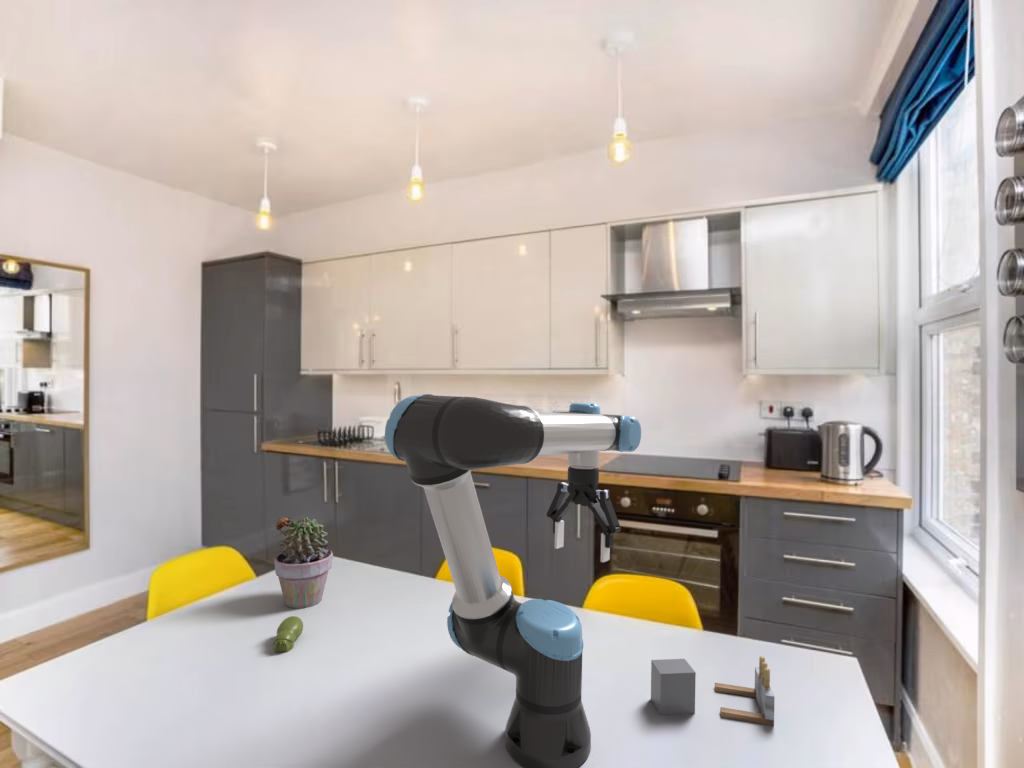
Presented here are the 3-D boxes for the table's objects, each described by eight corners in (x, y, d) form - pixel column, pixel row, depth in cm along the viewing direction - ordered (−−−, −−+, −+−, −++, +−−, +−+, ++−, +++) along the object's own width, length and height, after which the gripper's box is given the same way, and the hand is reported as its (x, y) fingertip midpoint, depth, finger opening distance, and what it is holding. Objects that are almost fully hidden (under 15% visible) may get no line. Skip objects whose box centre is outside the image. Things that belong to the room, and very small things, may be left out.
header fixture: (773, 725, 97) (774, 678, 97) (721, 716, 100) (722, 670, 100) (762, 694, 107) (763, 651, 107) (714, 687, 109) (715, 644, 109)
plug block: (694, 713, 101) (695, 672, 101) (660, 715, 100) (660, 673, 100) (683, 697, 106) (684, 658, 106) (650, 699, 105) (651, 660, 105)
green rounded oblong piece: (306, 611, 129) (291, 638, 120) (307, 630, 130) (292, 658, 121) (283, 612, 129) (267, 638, 119) (284, 631, 130) (268, 658, 120)
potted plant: (354, 595, 153) (355, 511, 153) (296, 621, 136) (297, 526, 136) (315, 582, 162) (316, 502, 162) (256, 604, 146) (257, 516, 146)
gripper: (637, 471, 120) (634, 563, 120) (552, 459, 137) (550, 539, 137) (620, 474, 114) (617, 571, 114) (534, 461, 131) (532, 545, 131)
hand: (581, 554), depth 125 cm, fingers open, 13 cm apart
